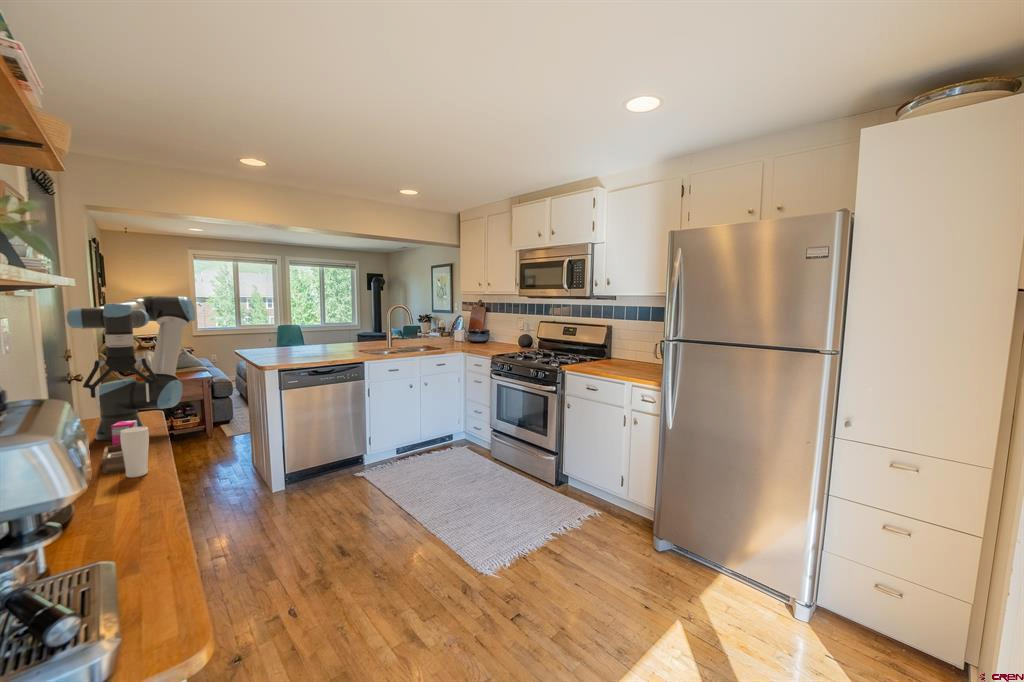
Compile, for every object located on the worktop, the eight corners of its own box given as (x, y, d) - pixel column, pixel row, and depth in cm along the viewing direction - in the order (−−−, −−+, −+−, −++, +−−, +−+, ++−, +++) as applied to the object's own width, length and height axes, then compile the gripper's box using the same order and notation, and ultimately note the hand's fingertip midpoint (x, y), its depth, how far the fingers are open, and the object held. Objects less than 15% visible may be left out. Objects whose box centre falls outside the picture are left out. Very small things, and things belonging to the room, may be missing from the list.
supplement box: (120, 451, 160) (118, 421, 159) (140, 449, 162) (138, 419, 161) (112, 456, 154) (110, 425, 153) (132, 454, 156) (131, 423, 156)
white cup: (122, 481, 133) (119, 433, 132) (123, 474, 138) (120, 428, 137) (150, 475, 137) (148, 429, 136) (151, 469, 142) (148, 425, 141)
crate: (106, 460, 150) (105, 446, 150) (147, 453, 157) (146, 440, 157) (103, 474, 138) (102, 459, 137) (147, 466, 145) (147, 451, 145)
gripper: (69, 348, 144) (74, 410, 146) (164, 345, 160) (167, 400, 162) (72, 347, 150) (76, 406, 151) (163, 343, 166) (166, 397, 168)
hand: (123, 403), depth 157 cm, fingers open, 13 cm apart
